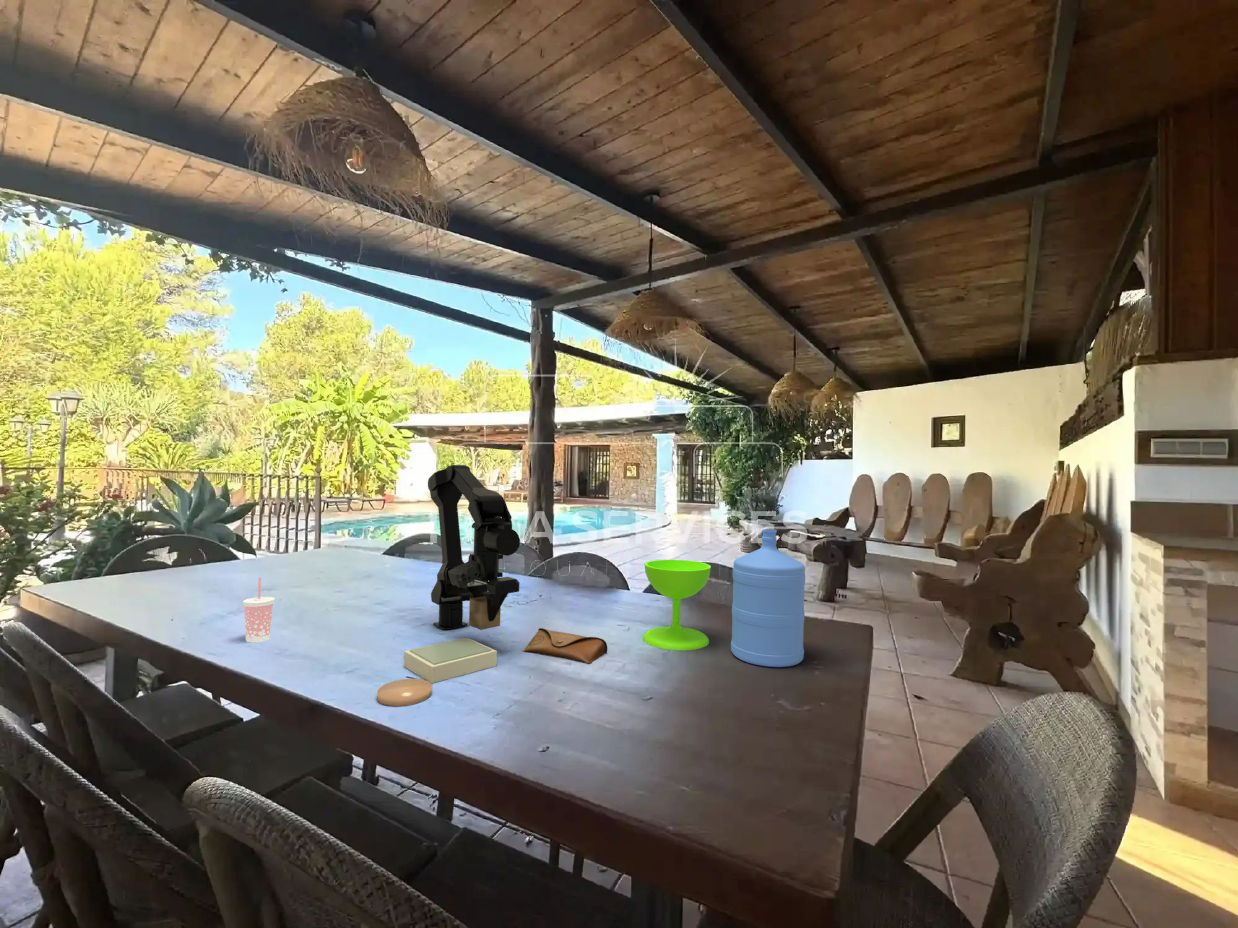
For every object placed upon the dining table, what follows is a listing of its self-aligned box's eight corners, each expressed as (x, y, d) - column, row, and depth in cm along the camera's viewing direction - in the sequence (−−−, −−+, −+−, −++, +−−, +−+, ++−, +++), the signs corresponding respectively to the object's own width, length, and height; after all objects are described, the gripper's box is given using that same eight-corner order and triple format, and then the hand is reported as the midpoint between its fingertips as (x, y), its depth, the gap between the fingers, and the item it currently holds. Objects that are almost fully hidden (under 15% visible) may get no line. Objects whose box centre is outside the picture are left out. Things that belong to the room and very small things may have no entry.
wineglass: (635, 645, 128) (637, 567, 128) (651, 627, 143) (653, 557, 144) (704, 653, 123) (706, 573, 124) (713, 633, 139) (714, 562, 139)
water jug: (808, 671, 114) (811, 535, 114) (730, 664, 117) (733, 532, 117) (799, 648, 129) (801, 528, 129) (730, 642, 132) (733, 525, 132)
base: (403, 666, 111) (404, 649, 111) (466, 651, 121) (466, 635, 121) (431, 683, 103) (432, 665, 103) (496, 665, 113) (496, 649, 113)
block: (468, 625, 125) (469, 598, 125) (488, 621, 129) (488, 595, 129) (480, 629, 122) (481, 602, 122) (500, 625, 125) (500, 599, 125)
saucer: (368, 694, 97) (368, 687, 97) (417, 681, 103) (418, 674, 103) (390, 710, 91) (390, 703, 91) (441, 696, 97) (441, 689, 97)
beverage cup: (270, 641, 124) (272, 579, 124) (238, 644, 122) (240, 580, 122) (276, 634, 130) (278, 574, 130) (245, 636, 128) (247, 575, 128)
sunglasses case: (518, 651, 122) (527, 621, 125) (532, 659, 127) (540, 630, 130) (591, 664, 115) (599, 632, 118) (603, 672, 120) (610, 641, 123)
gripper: (433, 547, 126) (431, 616, 126) (477, 558, 113) (474, 634, 113) (476, 544, 134) (475, 608, 134) (521, 553, 121) (520, 624, 121)
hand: (484, 618), depth 125 cm, fingers closed on block, 5 cm apart
